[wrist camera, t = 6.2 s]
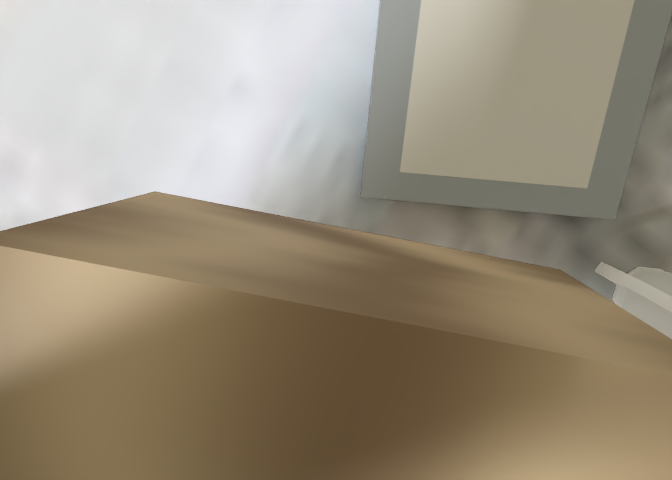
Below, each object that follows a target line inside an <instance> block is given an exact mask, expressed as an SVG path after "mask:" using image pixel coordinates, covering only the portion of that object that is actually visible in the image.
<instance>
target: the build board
mask: <svg viewBox="0 0 672 480" xmlns="http://www.w3.org/2000/svg"><path fill="white" fill-rule="evenodd" d="M671 15H672V0H380V8H379V17H378V27H377V37H376V47H375V57H374V67H373V77H372V87H371V97H370V107H369V117H368V127H367V136H366V146H365V156H364V166H363V176H362V186H361V197H362V198H374V199H385V200H396V201H408V202H419V203H430V204H442V205H453V206H464V207H476V208H487V209H498V210H509V211H521V212H532V213H543V214H555V215H566V216H577V217H589V218H600V219H611V220H615V218H616V214H617V211H618V207H619V203H620V200H621V196H622V193H623V189H624V185H625V182H626V178H627V174H628V171H629V167H630V164H631V160H632V156H633V153H634V149H635V145H636V142H637V138H638V135H639V131H640V127H641V124H642V120H643V116H644V113H645V109H646V105H647V102H648V98H649V95H650V91H651V87H652V84H653V80H654V76H655V73H656V69H657V66H658V62H659V58H660V55H661V51H662V47H663V44H664V40H665V37H666V33H667V29H668V26H669V22H670V18H671Z"/></svg>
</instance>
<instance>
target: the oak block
mask: <svg viewBox="0 0 672 480" xmlns="http://www.w3.org/2000/svg"><path fill="white" fill-rule="evenodd" d="M0 480H672V339H671V338H669V337H667V336H666V335H664V334H663V333H661V332H659V331H658V330H656V329H655V328H653V327H651V326H650V325H648V324H647V323H645V322H643V321H642V320H640V319H639V318H637V317H635V316H634V315H632V314H630V313H629V312H627V311H626V310H624V309H622V308H621V307H619V306H618V305H616V304H614V303H613V302H611V301H610V300H608V299H606V298H605V297H603V296H602V295H600V294H598V293H597V292H595V291H594V290H592V289H590V288H589V287H587V286H586V285H584V284H582V283H581V282H579V281H578V280H576V279H574V278H573V277H571V276H569V275H568V274H566V273H565V272H563V271H561V270H559V269H554V268H548V267H543V266H538V265H533V264H528V263H523V262H517V261H512V260H507V259H502V258H497V257H491V256H486V255H481V254H476V253H471V252H466V251H460V250H455V249H450V248H445V247H440V246H435V245H429V244H424V243H419V242H414V241H409V240H403V239H398V238H393V237H388V236H383V235H378V234H372V233H367V232H362V231H357V230H352V229H347V228H341V227H336V226H331V225H326V224H321V223H316V222H310V221H305V220H300V219H295V218H290V217H284V216H279V215H274V214H269V213H264V212H259V211H253V210H248V209H243V208H238V207H233V206H228V205H222V204H217V203H212V202H207V201H202V200H196V199H191V198H186V197H181V196H176V195H171V194H165V193H160V192H151V193H147V194H144V195H140V196H136V197H132V198H128V199H124V200H120V201H116V202H112V203H108V204H105V205H101V206H97V207H93V208H89V209H85V210H81V211H77V212H73V213H70V214H66V215H62V216H58V217H54V218H50V219H46V220H42V221H38V222H35V223H31V224H27V225H23V226H19V227H15V228H11V229H7V230H3V231H0Z"/></svg>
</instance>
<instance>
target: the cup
mask: <svg viewBox="0 0 672 480" xmlns="http://www.w3.org/2000/svg"><path fill="white" fill-rule="evenodd" d="M594 271H595V272H596V273H598V274H600V275H601V276H603V277H605V278H606V279H608V280H610V281H612V282H613V283H615V284H616V288H615V291H614V294H613V298H612V301H613V302H614V303H615V304H616V305H618V306H619V307H621V308H622V309H624V310H626V311H627V312H629V313H630V314H632V315H634V316H635V317H637V318H639V319H640V320H642V321H643V322H645V323H647V324H648V325H650V326H651V327H653V328H655V329H656V330H658V331H659V332H661V333H663V334H664V335H666V336H667V337H669V338H671V339H672V273H671V272H665V271H664V270H662V269H658V268H649V267H639V266H638V267H636V268H635V269H633V270H632V271H630V272H629V273H625V272H622V271H620V270H618V269H616V268H614V267H612V266H610V265H608V264H605V263H603V262H600V264H599V265H598V266H597V268H596V269H595V270H594Z"/></svg>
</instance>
